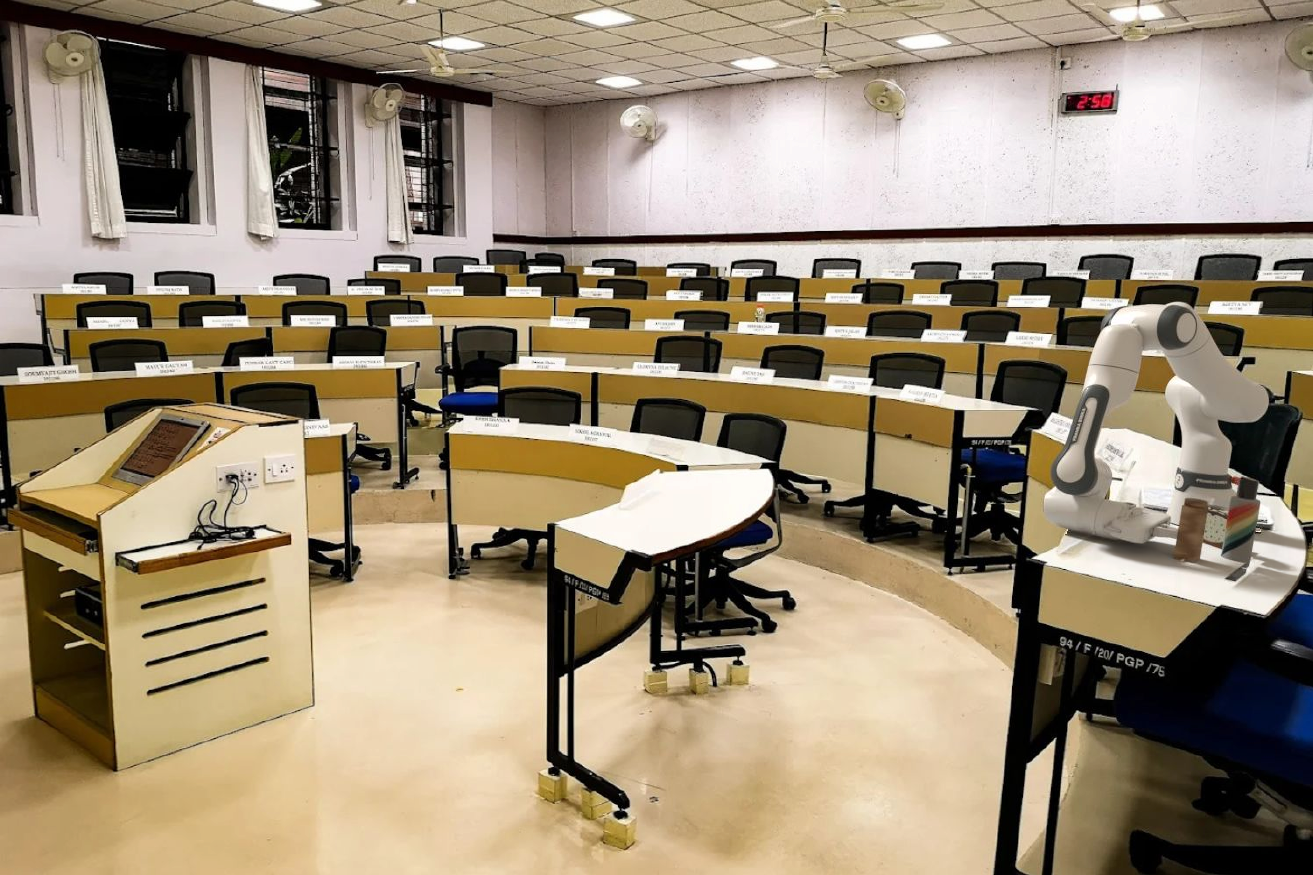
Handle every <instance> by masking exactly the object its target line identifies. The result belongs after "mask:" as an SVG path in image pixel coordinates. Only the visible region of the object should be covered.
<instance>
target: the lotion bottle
mask: <svg viewBox="0 0 1313 875" xmlns="http://www.w3.org/2000/svg"><path fill="white" fill-rule="evenodd" d="M1259 484H1260V481H1259V480H1257V479H1255V478H1252V477H1250V476H1249V477H1248V476H1243V475H1242V476H1240V477H1239V482H1238V485H1237V489H1236V493H1237V494H1236V495H1237V496H1232V497H1231V500H1230V505H1229V511H1228V517H1227V523H1226V529H1225V534H1224V540H1223V546H1222V549H1221V554H1220V557H1221V558H1224V559H1226V560H1230V561H1233V562H1239V563H1244V564H1242V565H1241V566H1240V567H1239V568H1245V569H1247V568H1249V567H1250V563H1251V558H1252V555H1253V554H1252V553H1253V550H1254V549H1253V548H1254V542H1255V537H1256V533H1255V532H1256V526H1257V525H1258V521H1259V520H1258V519H1259V515H1260V514H1259V513H1260V508H1261V500H1260V499H1257V495H1258V490H1259Z"/></svg>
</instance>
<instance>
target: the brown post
mask: <svg viewBox="0 0 1313 875" xmlns="http://www.w3.org/2000/svg"><path fill="white" fill-rule="evenodd" d="M1207 504H1208V502H1207V501H1205V500H1201V499H1195V498H1185V501H1184V505H1182V509H1181V515H1180V521H1179V525H1178V527H1177V528H1178V534H1177V539H1175V540H1176V541H1175V547H1174V554H1173V559H1176V560H1179V562H1180V563H1183V562H1189V563H1193V564H1194V563H1195V562H1198V560H1200V559H1201V556H1202V548H1203V544H1204V543H1203V538H1204V532H1205V525H1206V519H1207V513H1208V507H1209V506H1207Z"/></svg>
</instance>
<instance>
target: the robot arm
mask: <svg viewBox="0 0 1313 875" xmlns="http://www.w3.org/2000/svg"><path fill="white" fill-rule="evenodd" d="M1202 319H1203V318H1201V316H1200V315H1199V314H1198V313H1197V312H1196V310H1194V308H1193V307H1192V306H1191V305H1190V304H1188V303H1187V302H1184V301H1183V302H1182V301H1173V302H1169V303H1166V304H1153V303H1151V304H1140V305H1131V306H1128V305H1122V306H1118V307H1115V308H1111V309H1110V310H1108V312H1107V313H1106V314H1105V316H1104V317H1103V319H1102V320H1101V323H1100V324H1101V325H1100V333H1099V335H1098V336H1097V339H1096V342H1095V344H1094V347H1093V349H1092V352H1091V355H1090V358H1089V362H1088V366H1087V371H1086V374H1085V379H1084V383H1083V387H1082V392H1081V395H1080V399H1079V401H1078V403H1077V406H1076V409H1075V412H1074V416H1073V419H1072V423H1071V425H1070V428H1069V432H1068V435H1067V438H1066V441H1065V444H1064V446H1063V448H1062V449H1061V450H1060V452H1059V453H1058V455H1057V456H1056V457H1055V459H1054V460H1053V461H1052V464H1051V466H1050V471H1049V472H1050V479H1051V482H1052V483H1053V485H1054V487H1052V488H1051V489H1050V490H1049V491H1047V492H1046V493H1045V495H1044V498H1043V501H1042V508H1043V509H1042V510H1043V514H1044V517H1045V519H1046V520H1047V521H1048V522H1049V523H1051V524H1052V525H1055V526H1057V527H1060V528H1063V529H1067V530H1070V531H1075V532H1078V533H1080V532H1081V533H1082V532H1083V533H1084V532H1085V533H1090V534H1092V535H1094V536H1096V537H1100V538H1105V539H1109V540H1114V541H1121V540H1122V541H1125V542H1130V543H1133V544H1144V543H1147V542H1149V541H1151V540H1153V539H1154V538H1155V537H1157V538H1170V539H1173V540H1177V534H1178V528H1179V527H1177V528H1176V527H1174V526H1171V524H1174V525H1177V526H1179V521H1180V515H1181V509H1182V505H1184V501H1185V498H1195V499H1201V500H1205V501H1207V502H1208V504H1210V505H1217V506H1222V507H1227V508H1229V505H1230V500H1231V497H1232V496H1237V495H1236V494H1237V491H1235V489H1233V484H1234V485H1235V486H1238V482H1239V478H1240V477H1239V476H1235V475H1234V476H1232V475H1231V474H1229V468H1230V461H1231V456H1232V455H1231V454H1232V452H1233V451H1232V450H1233V446H1232V442H1231V441H1230V439H1229V438H1228V437H1227V436H1226V435H1224V433H1223V432H1222V430H1221V429H1220V427H1219V421H1224V422H1228V423H1254V422H1256V421H1259V420H1260V419H1261V418H1262V417H1263V416H1264V415H1265V414H1266V412H1267V410H1268V407H1269V404H1270V400H1269V394H1268V391H1267V389H1266V388H1265V387H1264V385H1263V386H1262V385H1261V384H1259V383H1257V382H1255V381H1253V380H1252V379H1250V378H1249V377H1247V376H1246V375H1244V373H1242V372H1241V371H1240V370H1238V368H1236V367H1235V366H1234V365H1233V364H1232V363H1231V362H1230V361H1229V360H1228V359H1227V358H1226V357H1225V356H1224V355H1223V354H1222V351H1220V348H1218V346H1217V344H1216V342H1215V340H1214V339H1213V336H1212V334H1211V333H1210V331H1209V329H1208V328H1207V325H1206V324H1205V322H1204V321H1203V320H1202ZM1159 350H1160V351H1162V353H1163V355H1164V357H1165V359H1166V361H1167V362H1168V364H1169V366H1170V368H1171V370H1172V371H1173V373H1174V374H1175V375H1174V376H1173V377H1172V378H1171V379H1170V380H1169V381H1168V383H1167V385H1166V387H1165V393H1164V395H1165V400H1166V402H1167V405H1168V406H1169V407H1170V409H1172V411H1173V412H1174V414H1175V415H1176V417H1177V420H1178V423H1179V426H1180V430H1181V450H1180V459H1179V466H1178V467H1177V468H1176V472H1175V476H1174V491H1173V494H1172V498H1171V499H1170V504H1169V506H1168V508H1167V511H1166V513H1165V512H1161V511H1157V510H1155V509H1154V510H1153V509H1150V508H1146V507H1141V506H1137V504H1136V503H1135V502H1134V503H1133V502H1129V501H1128V502H1127V501H1125V502H1123V501H1122V502H1121V501H1117V500H1111V499H1108V498H1107V495H1108V492H1109V490H1110V487H1111V485H1112V481H1113V473H1112V469H1111V468H1110V466H1109V465H1108V464H1107V463H1106V462H1105V461H1103V460H1101V459H1099V458H1097V457H1096V454H1095V453H1096V448H1097V445H1098V442H1099V438H1100V436H1101V431H1102V428H1103V426H1104V423H1105V422H1104V421H1105V419H1106V418H1107V416H1108V415H1109V414H1111V412H1112V411H1114V410H1116V409H1117V408H1121V407H1122V406H1123V405H1125V404H1127V403H1128V402H1129V401H1130V400H1131V397H1132V395H1133V394H1134V391H1135V389H1136V386H1137V382H1138V379H1139V374H1140V369H1141V365H1142V364H1141V363H1142V358H1143V357H1142V356H1143V352H1144V351H1146V352H1147V351H1159ZM1106 498H1107V499H1106ZM1260 530H1262V531H1263V528H1262V529H1260V528H1256V531H1260Z"/></svg>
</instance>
